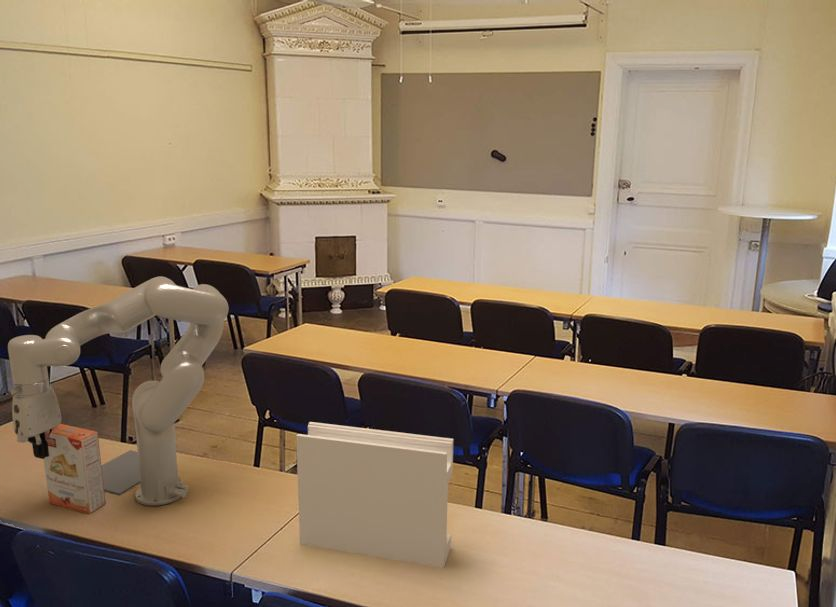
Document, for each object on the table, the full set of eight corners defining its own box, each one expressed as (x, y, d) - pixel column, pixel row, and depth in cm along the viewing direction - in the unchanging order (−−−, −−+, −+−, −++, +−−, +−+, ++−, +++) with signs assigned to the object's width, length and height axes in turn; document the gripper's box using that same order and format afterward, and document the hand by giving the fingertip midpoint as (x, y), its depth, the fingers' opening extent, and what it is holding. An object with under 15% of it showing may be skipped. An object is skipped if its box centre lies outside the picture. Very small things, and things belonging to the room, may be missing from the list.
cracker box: (47, 504, 188) (38, 430, 183) (66, 493, 193) (57, 421, 188) (88, 515, 183) (79, 439, 178) (106, 504, 188) (98, 430, 183)
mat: (174, 462, 211) (174, 460, 211) (119, 495, 192) (119, 493, 192) (130, 451, 218) (130, 450, 218) (73, 482, 199) (72, 480, 199)
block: (300, 544, 171) (296, 435, 165) (313, 526, 179) (310, 421, 172) (443, 567, 163) (445, 454, 156) (450, 548, 170) (453, 438, 164)
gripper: (15, 399, 165) (26, 472, 169) (69, 378, 178) (77, 447, 182) (-8, 395, 167) (3, 467, 172) (46, 374, 181) (56, 441, 185)
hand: (41, 456), depth 177 cm, fingers closed
